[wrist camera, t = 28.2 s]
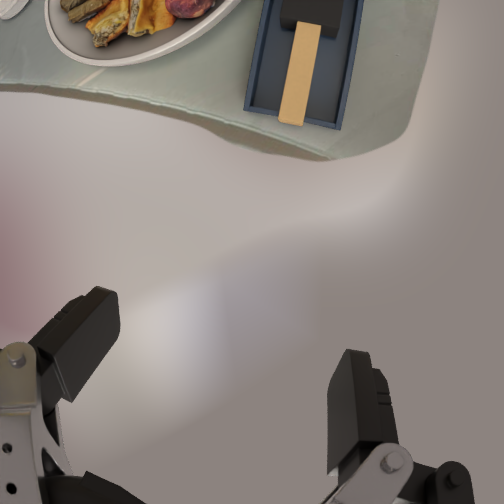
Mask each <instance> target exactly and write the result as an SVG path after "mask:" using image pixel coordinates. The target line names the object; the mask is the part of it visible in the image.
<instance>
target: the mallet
mask: <svg viewBox="0 0 504 504" xmlns="http://www.w3.org/2000/svg"><path fill="white" fill-rule="evenodd" d="M343 3H344V0H283V3H282V8H281V12H280V24H281V28H287V29H293V30H296V31H295V36H294V41H293V46H292V51H291V56H290V61H289V66H288V71H287V76H286V81H285V86H284V91H283V96H282V101H281V106H280V111H279V116H278V119H279V122H283V123H288V124H293V125H298V126H303V121H304V116H305V111H306V106H307V101H308V96H309V91H310V85H311V80H312V75H313V69H314V64H315V59H316V53H317V48H318V42H319V37H320V35H324V36H329V37H333V38H336V37H337V34H338V31H339V28H340V23H341V16H342V10H343Z"/></svg>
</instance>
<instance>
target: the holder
mask: <svg viewBox="0 0 504 504" xmlns="http://www.w3.org/2000/svg"><path fill="white" fill-rule="evenodd" d="M282 3H283V0H264V5H263V10H262V14H261V19H260V24H259V29H258V34H257V39H256V44H255V49H254V54H253V60H252V65H251V70H250V75H249V81H248V86H247V92H246V97H245V103H244V108H243V110H244V111H250V112H256V113H262V114H267V115H273V116H279V111H280V106H281V101H282V96H283V91H284V86H285V81H286V76H287V71H288V66H289V61H290V56H291V51H292V46H293V41H294V36H295V31H296V30H293V29H287V28H281V24H280V12H281V8H282ZM363 3H364V0H344V3H343V10H342V16H341V23H340V28H339V31H338V34H337V37H336V38H333V37H329V36H324V35H320V37H319V42H318V48H317V53H316V59H315V64H314V69H313V75H312V80H311V85H310V91H309V96H308V101H307V106H306V111H305V116H304V121H303V122H307V123H311V124H316V125H320V126H324V127H328V128H332V129H336V130H341V125H342V121H343V116H344V111H345V106H346V101H347V96H348V91H349V86H350V81H351V76H352V70H353V65H354V59H355V53H356V48H357V42H358V36H359V30H360V23H361V17H362V10H363Z"/></svg>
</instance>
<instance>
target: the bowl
mask: <svg viewBox="0 0 504 504" xmlns="http://www.w3.org/2000/svg"><path fill="white" fill-rule="evenodd" d="M240 1H241V0H45V21H46V26H47V29H48V32H49V34H50V37H51V39H52V40H53V42H54V43H55V45H56V46H57V47H58V48H59V49H60V50H61V51H62V52H63V53H64V54H66V55H67V56H68V57H70V58H72V59H74V60H76V61H79V62H82V63H85V64H90V65H96V66H125V65H131V64H137V63H141V62H145V61H149V60H152V59H155V58H158V57H161V56H163V55H166V54H168V53H170V52H173V51H175V50H177V49H179V48H181V47H183V46H185V45H187V44H188V43H190V42H192V41H194V40H195V39H197V38H198V37H200V36H201V35H203V34H204V33H206V32H207V31H209V30H210V29H211V28H213V27H214V26H215V25H216V24H218V23H219V22H220V21H221V20H222V19H224V18H225V17H226V16H227V15H228V14H229V13H230V12H231V11H232V10H233V9H234V8H235V7H236V6H237V5H238V3H239V2H240Z"/></svg>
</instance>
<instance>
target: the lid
mask: <svg viewBox="0 0 504 504" xmlns="http://www.w3.org/2000/svg"><path fill="white" fill-rule="evenodd" d="M28 1H29V0H0V18H2V19H9V18H11V17H13V16H15V15H16V14H17V13H18V12H19V11H20V10H21V9H22V8H23V7H24V6H25V5H26V3H27V2H28Z"/></svg>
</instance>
